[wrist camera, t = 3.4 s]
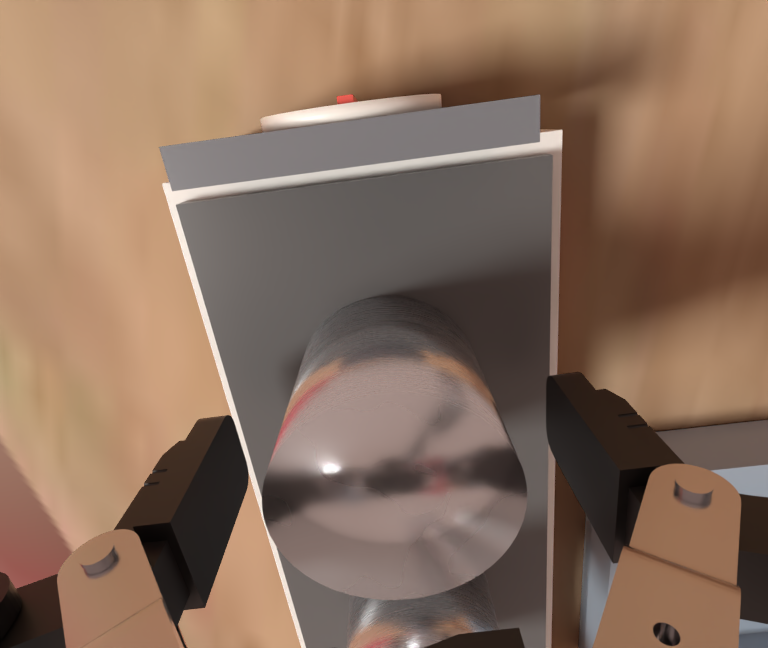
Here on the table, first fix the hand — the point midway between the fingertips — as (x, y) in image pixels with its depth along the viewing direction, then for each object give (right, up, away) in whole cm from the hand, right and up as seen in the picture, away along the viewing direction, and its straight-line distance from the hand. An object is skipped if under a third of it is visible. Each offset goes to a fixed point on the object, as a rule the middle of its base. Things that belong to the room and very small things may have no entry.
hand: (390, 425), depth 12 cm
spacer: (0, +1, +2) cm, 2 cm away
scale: (+1, -5, +7) cm, 9 cm away
